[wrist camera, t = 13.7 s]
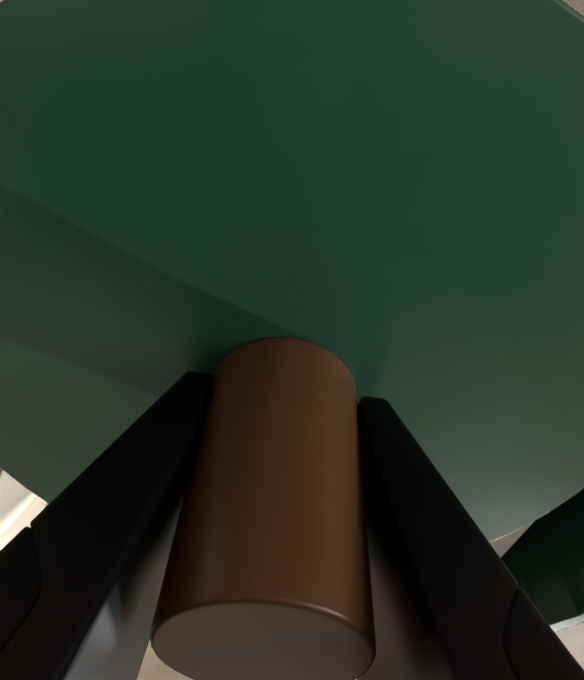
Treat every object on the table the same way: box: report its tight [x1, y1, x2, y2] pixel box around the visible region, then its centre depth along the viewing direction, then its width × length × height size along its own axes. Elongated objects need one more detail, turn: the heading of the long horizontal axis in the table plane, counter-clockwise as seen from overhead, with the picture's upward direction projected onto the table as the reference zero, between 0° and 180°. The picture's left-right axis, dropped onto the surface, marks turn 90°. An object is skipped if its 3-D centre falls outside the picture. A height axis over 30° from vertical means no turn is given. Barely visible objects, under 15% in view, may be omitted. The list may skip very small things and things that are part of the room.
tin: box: [501, 488, 584, 631], centre depth 20 cm, size 11×11×8 cm
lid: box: [0, 0, 584, 680], centre depth 7 cm, size 12×12×5 cm
